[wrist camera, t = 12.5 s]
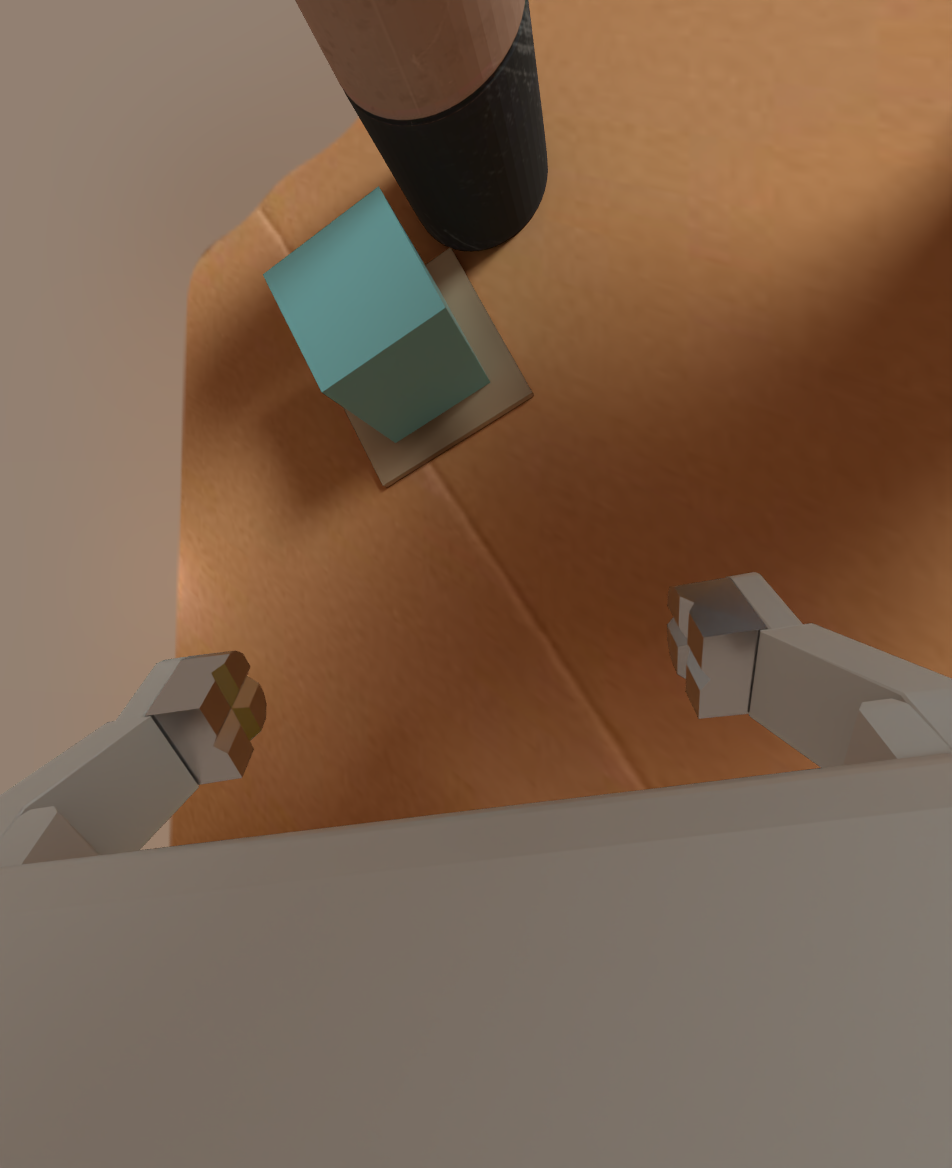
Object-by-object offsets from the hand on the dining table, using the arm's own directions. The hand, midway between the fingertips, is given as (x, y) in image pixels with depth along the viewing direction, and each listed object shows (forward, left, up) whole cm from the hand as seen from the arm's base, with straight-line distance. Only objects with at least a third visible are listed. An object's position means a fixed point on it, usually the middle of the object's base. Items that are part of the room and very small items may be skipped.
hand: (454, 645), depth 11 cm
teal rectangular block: (-9, -12, -17) cm, 22 cm away
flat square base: (-9, -12, -17) cm, 23 cm away
